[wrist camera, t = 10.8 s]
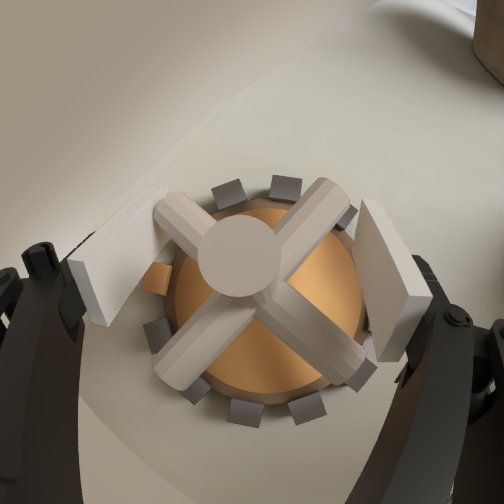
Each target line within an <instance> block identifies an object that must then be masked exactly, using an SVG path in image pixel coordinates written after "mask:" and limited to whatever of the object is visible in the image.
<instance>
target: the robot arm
mask: <svg viewBox="0 0 504 504" xmlns="http://www.w3.org/2000/svg"><path fill="white" fill-rule="evenodd" d="M167 195H168V189H167V185H158V184H153V185H152V186H150V187H149V188H148V189H146V190H145V191H144V192H143V193H141V194H140V195H139V196H138V197H136V198H135V199H134V200H133V201H131V202H130V203H129V204H128V205H126V206H125V207H124V208H123V209H122V210H120V211H119V212H118V213H117V214H116V215H114V216H113V217H112V218H111V219H110V220H109V221H107V222H106V223H105V224H104V225H103V226H102V227H101V228H99V229H98V230H97V231H95V232H93V233H91V234H90V235H89V236H88V237H86V238H85V239H84V240H83V242H81V243H80V244H79V245H78V246H77V248H75V249H73V250H72V251H71V252H70V253H69V254H68V255H67V256H66V257H65V258H64V259H63V260H62V261H61V262H60V263H59V261H58V258H57V255H56V252H55V249H54V246H53V244H52V243H50V242H41V243H38V244H35V245H33V246H31V247H29V248H28V249H27V250H25V251H24V252H23V254H22V255H21V256H22V259H23V262H24V264H25V267H26V269H27V271H28V273H29V278H23V279H20V277H19V275H18V272H17V270H16V269H15V268H13V267H10V268H5V269H3V270H0V317H1V315H2V314H3V312H4V313H5V315H6V316H7V318H8V320H9V322H10V323H9V326H8V328H7V329H6V327H5V325H4V324H3V322H2V320H1V318H0V504H84V503H83V497H82V489H81V480H80V469H79V453H78V393H79V377H80V365H81V354H82V345H83V337H84V330H85V325H84V321H83V319H82V316H83V315H84V314H85V312H86V311H87V313H88V315H89V317H90V320H91V322H92V323H94V324H98V325H102V326H105V327H109V326H110V324H111V323H112V321H113V319H114V318H115V316H116V315H117V313H118V312H119V310H120V309H121V307H122V306H123V304H124V303H125V301H126V300H127V298H128V297H129V295H130V294H131V293H132V291H133V290H134V288H135V287H136V285H137V284H138V282H139V281H140V280H141V278H142V277H143V275H144V274H145V273H146V271H147V270H148V268H149V267H150V266H151V264H152V263H153V261H154V260H155V259H156V257H157V256H158V255H159V253H160V252H161V250H162V249H163V248H164V246H165V245H166V244H167V242H168V241H169V240H170V237H169V236H168V235H167V234H166V233H165V232H164V231H163V230H162V229H161V228H160V227H159V226H158V225H157V224H156V223H155V221H154V218H153V216H154V212H155V209H156V207H157V206H158V204H159V203H160V201H161V200H162V199H163V198H164V197H166V196H167ZM352 255H353V258H354V262H355V265H356V269H357V273H358V277H359V281H360V284H361V288H362V292H363V297H364V301H365V305H366V309H367V314H368V318H369V323H370V327H371V332H372V337H373V342H374V347H375V352H376V357H377V362H399V360H400V358H401V357H402V355H403V353H404V352H405V350H406V353H407V357H408V362H407V363H406V365H405V366H404V368H403V369H402V371H401V372H400V374H399V375H398V377H397V378H396V380H395V382H394V383H398V381H399V384H398V387H397V390H396V393H395V395H394V398H393V401H392V404H391V407H390V409H389V412H388V415H387V417H386V420H385V422H384V425H383V427H382V430H381V432H380V434H379V437H378V439H377V441H376V444H375V446H374V448H373V450H372V452H371V455H370V457H369V459H368V461H367V463H366V465H365V467H364V469H363V471H362V473H361V475H360V477H359V479H358V481H357V483H356V484H355V486H354V488H353V490H352V492H351V493H350V495H349V497H348V499H347V500H346V502H345V504H446V503H447V500H448V497H449V494H450V491H451V488H452V485H453V481H454V487H453V496H452V504H504V319H498V320H496V321H495V322H494V323H493V325H492V326H491V328H490V330H487V329H484V328H481V327H477V326H474V325H473V321H472V319H471V317H470V316H469V314H468V313H467V312H466V311H465V310H464V309H462V308H460V307H459V306H457V305H454V304H450V302H449V300H448V298H447V297H446V295H445V293H444V291H443V289H442V287H441V285H440V284H439V282H437V278H436V276H435V275H434V274H433V271H432V270H431V268H430V266H429V264H428V263H427V262H426V261H425V260H423V259H422V258H421V257H420V256H418V255H411V254H410V252H409V250H408V249H407V247H406V245H405V243H404V242H403V240H402V238H401V237H400V235H399V233H398V232H397V230H396V228H395V227H394V225H393V224H392V222H391V220H390V219H389V217H388V216H387V214H386V212H385V211H384V209H383V208H382V206H381V205H380V203H379V202H378V201H376V200H369V199H362V202H361V208H360V213H359V218H358V223H357V228H356V233H355V238H354V242H353V247H352ZM494 381H495V386H496V389H495V390H494V391H493V392H492V393H491V392H490V388H489V386H490V385H491V384H492V383H493V382H494Z"/></svg>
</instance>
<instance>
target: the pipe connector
mask: <svg viewBox="0 0 504 504" xmlns="http://www.w3.org/2000/svg"><path fill="white" fill-rule="evenodd" d="M349 207H350V200H349V198H348V196H347V195H346V193H345V191H344V190H343V189H342V188H341V187H340V186H338V185H337V184H336V183H334V182H333V181H331V180H329V179H327V178H321V177H319V178H318V179H317V180H316V181H315V182H314V183H313V184H312V186H311V187H310V188H309V189H308V190H307V191H306V192H305V193H304V194H303V195H302V196H301V197H300V199H299V200H298V201H297V202H296V203H295V204H294V205H293V206H292V207H291V208H290V209H289V211H288V212H287V213H286V214H285V215H284V216H283V217H282V218H281V219H280V220H279V221H278V222H277V224H276V225H275V226H274V227H273V228H272V229H271V228H270V227H269V226H268V225H267V224H266V223H264V222H262V221H261V220H259V219H257V218H254V217H251V216H248V215H235V216H230V217H226V218H224V219H222V220H220V221H218V222H217V221H216V220H215V219H214V218H213V217H211V216H210V215H209V214H208V213H207V212H206V211H204V210H203V209H202V208H201V207H200V206H199V205H198V204H196V203H195V202H194V201H193V200H192V199H191V198H189V197H188V196H187V195H186V194H185V193H184V192H182V191H179V190H178V191H174V192H171V193H169V194H168V195H167V196H166V197H164V198H163V199H162V200H161V201H160V203H159V204H158V206H157V207H156V209H155V212H154V216H153V218H154V221H155V223H156V224H157V225H158V226H159V227H160V228H161V229H162V230H163V231H164V232H165V233H166V234H167V235H168V236H169V237H170V238H171V239H172V240H173V241H174V242H175V243H176V244H177V245H178V246H179V247H180V248H181V249H182V250H183V251H184V252H185V253H186V254H188V255H189V256H190V257H191V258H192V259H193V260H194V261H195V262H196V263H197V264H198V265H199V269H200V271H201V274H202V276H203V278H204V279H205V280H206V282H207V283H208V284H209V285H210V286H211V287H212V288H213V289H215V291H214V292H213V293H212V294H211V295H210V297H209V298H208V299H207V300H206V301H205V302H204V303H203V304H202V305H201V306H200V307H199V309H198V310H197V311H196V312H195V313H194V314H193V315H192V316H191V317H190V318H189V319H188V321H187V322H186V323H185V324H184V325H183V326H182V327H181V328H180V329H179V330H178V331H177V333H176V334H175V335H174V336H173V337H172V338H171V339H170V340H169V341H168V342H167V343H166V345H165V346H164V347H163V348H162V349H161V350H160V351H159V352H158V353H157V354H156V355H155V357H154V358H153V359H152V360H151V364H152V367H153V370H154V371H155V372H156V374H157V375H158V376H159V377H160V378H161V379H162V380H163V381H164V382H165V383H166V384H168V385H169V386H170V387H172V388H174V389H177V390H179V391H183V390H186V389H187V388H188V387H189V386H190V385H191V384H192V383H193V382H194V381H195V380H196V379H197V378H198V377H199V376H200V375H201V374H202V373H203V372H204V371H205V369H206V368H207V367H208V366H209V365H210V364H211V363H212V362H213V361H214V360H215V359H216V358H217V357H218V356H219V355H220V354H221V353H222V352H223V351H224V350H225V349H226V348H227V347H228V346H229V344H230V343H231V342H232V341H233V340H234V339H235V338H236V337H237V336H238V335H239V334H240V333H241V332H242V331H243V329H244V328H245V327H246V326H247V325H248V324H249V323H250V322H251V321H252V320H253V319H254V318H256V319H258V320H259V321H260V322H261V323H262V324H263V325H264V326H265V327H267V328H268V329H269V330H270V331H271V332H272V333H273V334H275V335H276V336H277V337H278V338H279V339H280V340H281V341H283V342H284V343H285V344H286V345H287V346H288V347H289V348H291V349H292V350H293V351H294V352H295V353H296V354H298V355H299V356H300V357H301V358H302V359H304V360H305V361H306V362H307V363H308V364H309V365H311V366H312V367H313V368H314V369H315V370H317V371H318V372H319V373H320V374H321V375H323V376H324V377H325V378H326V379H328V380H329V381H330V382H331V383H332V384H334V385H341V384H342V383H344V382H346V381H347V380H348V379H349V378H350V377H351V376H352V375H353V374H354V373H355V372H356V371H357V370H358V369H359V367H360V366H361V364H362V363H363V361H364V359H365V356H366V354H367V353H366V350H365V349H364V348H363V347H362V346H360V345H359V344H358V343H357V342H356V341H355V340H353V339H352V338H351V337H350V336H349V335H348V334H347V333H345V332H344V331H343V330H342V329H341V328H340V327H338V326H337V325H336V324H335V323H334V322H333V321H332V320H330V319H329V318H328V317H327V316H326V315H325V314H323V313H322V312H321V311H320V310H319V309H318V308H317V307H315V306H314V305H313V304H312V303H311V302H310V301H308V300H307V299H306V298H305V297H304V296H303V295H302V294H300V293H299V292H298V291H297V290H296V289H295V288H293V287H292V286H291V285H290V284H289V283H288V282H287V281H288V280H289V278H290V277H291V276H292V275H293V274H294V273H295V272H296V270H297V269H298V268H299V267H300V266H301V265H302V264H303V262H304V261H305V260H306V259H307V258H308V257H309V255H310V254H311V253H312V252H313V251H314V249H315V248H316V247H317V246H318V245H319V244H320V242H321V241H322V240H323V239H324V238H325V236H326V235H327V234H328V233H329V232H330V230H331V229H332V228H333V227H334V226H335V224H336V223H337V222H338V221H339V220H340V218H341V217H342V216H343V215H344V213H345V212H346V211H347V210H348V209H349Z"/></svg>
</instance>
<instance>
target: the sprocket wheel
mask: <svg viewBox="0 0 504 504" xmlns="http://www.w3.org/2000/svg"><path fill="white" fill-rule="evenodd" d="M301 186H302V179H299V178H292V177H285V176H278V175H273V177H272V182H271V188H270V194H269V198H264V199H254V200H248V201H247V198H246V195H245V193H244V190H243V188H242V185H241V182H240V180H239V179H236V180H233V181H231V182H228V183H225V184H223V185H220V186H217V187H215V188H212V189H211V190H212V193H213V196H214V199H215V202H216V205H217V208H218V210H219V211H218V212H217V213H215V214H213V215H212V216H211V217H213V218H214V219H215V220H216V221H217V222H218V221H220V220H222V219H224V218H226V217H230V216H235V215H248V216H251V217H254V218H257V219H259V220H261V221H262V222H264V223H266V224H267V225H268V226H269V227H270V228H271V229H272V228H273V227H274V226H275V225H276V224H277V222H278V221H279V220H280V219H281V218H282V217H283V216H284V215H285V214H286V213H287V212H288V211H289V209H290V208H291V207H292V206H293V205H294V204H295V203H296V202H297V201H298V200H299V199H300V193H301ZM357 212H358V210H357V209H356V208H355V207H353V206H352V205H351V204H350V207H349V209H348V210H347V211H346V212H345V213H344V215H343V216H342V217H341V218H340V220H339V221H338V222H337V223H336V224H335V226H334V227H333V228H332V229H331V230H330V232H329V233H328V234H327V235H326V236H325V238H324V239H323V240H322V241H321V242H320V244H319V245H318V246H317V247H316V248H315V249H314V251H313V252H312V253H311V254H310V255H309V257H308V258H307V259H306V260H305V261H304V262H303V264H302V265H301V266H300V267H299V268H298V269H297V270H296V272H295V273H294V274H293V275H292V276H291V277H290V278H289V280H288V281H287V282H288V283H289V284H290V285H291V286H292V287H293V288H295V289H296V290H297V291H298V292H299V293H300V294H302V295H303V296H304V297H305V298H306V299H307V300H308V301H310V302H311V303H312V304H313V305H314V306H315V307H317V308H318V309H319V310H320V311H321V312H322V313H323V314H325V315H326V316H327V317H328V318H329V319H330V320H332V321H333V322H334V323H335V324H336V325H337V326H338V327H340V328H341V329H342V330H343V331H344V332H345V333H347V334H348V335H349V336H350V337H351V338H352V339H353V340H355V341H356V342H357V343H358V344H359V345H360V346H362V345H363V343H364V340H365V337H366V335H367V332H368V331H371V327H370V323H369V318H368V314H367V309H366V305H365V301H364V297H363V292H362V288H361V284H360V281H359V277H358V273H357V269H356V265H355V262H354V258H353V255H352V247H353V240H352V239H351V237H350V236H349V235H348V234H347V233H346V232H345V231H344V230H345V228H346V227H347V226H348V224H349V223H350V222H351V220H352V219H353V217H354V216H355V214H356V213H357ZM142 290H143V291H147V292H151V293H155V294H160V295H164V296H165V314H166V318H162V319H159V320H156V321H153V322H150V323H147V324H144V325H143V327H144V330H145V334H146V337H147V340H148V343H149V347H150V350H151V353H152V354H154V353H158V352H159V351H160V350H161V349H162V348H163V347H164V346H165V345H166V343H167V342H168V341H169V340H170V339H171V338H172V337H173V336H174V335H175V334H176V333H177V331H178V330H179V329H180V328H181V327H182V326H183V325H184V324H185V323H186V322H187V321H188V319H189V318H190V317H191V316H192V315H193V314H194V313H195V312H196V311H197V310H198V309H199V307H200V306H201V305H202V304H203V303H204V302H205V301H206V300H207V299H208V298H209V297H210V295H211V294H212V293H213V292H214V291H215V289H213V288H212V287H211V286H210V285H209V284H208V283H207V282H206V280H205V279H204V278H203V276H202V274H201V271H200V269H199V265H198V264H197V263H196V262H195V261H194V260H193V259H192V258H191V257H190V256H189V255H188V254H186V253H185V252H184V251H183V250H182V249H181V248H180V249H179V251H178V252H177V254H176V256H175V258H174V261H173V263H172V265H167V264H161V263H156V262H153V263H152V264H151V266H150V267H149V268H148V270H147V271H146V273H145V276H144V281H143V285H142ZM377 368H378V367H377V366H375V365H374V364H373V363H372V362H370V361H369V360H368V359H367V358H365V359H364V361H363V363H362V364H361V366H360V367H359V369H358V370H357V371H356V372H355V373H354V374H353V375H352V376H351V377H350V378H349V379H348V380H347V381H346V382H344V383H345V384H347V385H348V386H349V387H351V388H352V389H353V390H355V391H356V392H357V393H358V391H359V390H360V389H361V388H362V387H363V385H364V384H365V383H366V382H367V380H368V379H369V378H370V377H371V375H372V374H373V373H374V372H375V370H376V369H377ZM329 384H331V382H330V381H329V380H328V379H326V378H325V377H324V376H323V375H321V374H320V373H319V372H318V371H317V370H315V369H314V368H313V367H312V366H311V365H309V364H308V363H307V362H306V361H305V360H304V359H302V358H301V357H300V356H299V355H298V354H296V353H295V352H294V351H293V350H292V349H291V348H289V347H288V346H287V345H286V344H285V343H284V342H283V341H281V340H280V339H279V338H278V337H277V336H276V335H275V334H273V333H272V332H271V331H270V330H269V329H268V328H267V327H265V326H264V325H263V324H262V323H261V322H260V321H259V320H258V319H256V318H254V319H253V320H252V321H251V322H250V323H249V324H248V325H247V326H246V327H245V328H244V329H243V331H242V332H241V333H240V334H239V335H238V336H237V337H236V338H235V339H234V340H233V341H232V342H231V343H230V344H229V346H228V347H227V348H226V349H225V350H224V351H223V352H222V353H221V354H220V355H219V356H218V357H217V358H216V359H215V360H214V361H213V362H212V363H211V364H210V365H209V366H208V367H207V368H206V369H205V371H204V372H203V373H202V374H201V375H200V376H199V377H198V378H197V379H196V380H195V381H194V382H193V383H192V384H191V385H190V386H189V387H188V388H187V389H186V390H183V391H179V390H178V391H179V392H180V393H181V394H182V395H183V396H184V397H185V398H187V399H188V400H189V401H190V402H191V403H192V404H193V405H195V404H196V403H197V402H198V401H199V400H200V399H201V398H202V397H203V396H204V395H205V394H206V393H207V392H208V391H209V390H210V389H211V388H213V389H214V390H216V391H218V392H219V393H221V394H223V395H226V396H228V397H231V398H232V399H231V404H230V409H229V414H228V419H227V422H230V423H234V424H239V425H244V426H249V427H254V428H259V425H260V420H261V416H262V411H263V407H264V404H281V403H288V406H289V408H290V411H291V414H292V416H293V419H294V422H295V424H296V425H299V424H302V423H305V422H308V421H310V420H313V419H316V418H319V417H321V416H324V415H327V414H326V411H325V408H324V405H323V402H322V399H321V397H320V394H319V391H320V390H322V389H323V388H325V387H326V386H328V385H329Z"/></svg>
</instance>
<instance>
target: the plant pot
mask: <svg viewBox="0 0 504 504" xmlns="http://www.w3.org/2000/svg"><path fill="white" fill-rule="evenodd" d="M473 50H474V53H475V55H476V56H477V58H478V59H479V60H480V62H481V63H482V64H483V65H484V67H485V68H486V69H487V70H488V71H489V72H490V73H491V74H492V75H493V76H494V77H495V78H496V79H497V80H498V81H499V82H501V83H502V84H503V85H504V0H477V10H476V21H475V29H474V37H473Z"/></svg>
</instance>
